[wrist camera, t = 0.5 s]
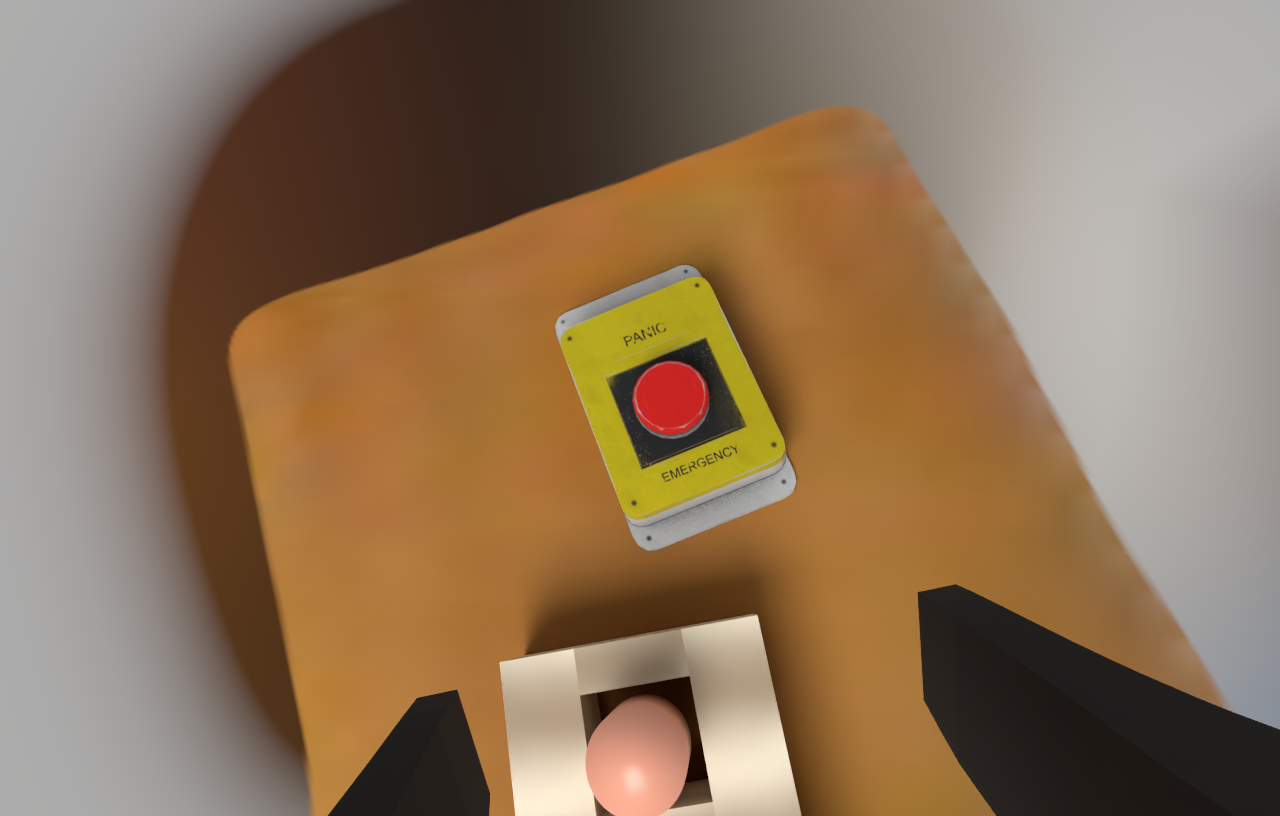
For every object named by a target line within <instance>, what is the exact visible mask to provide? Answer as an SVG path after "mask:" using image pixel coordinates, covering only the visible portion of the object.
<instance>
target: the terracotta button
mask: <svg viewBox="0 0 1280 816" xmlns="http://www.w3.org/2000/svg"><path fill="white" fill-rule="evenodd" d="M690 755H691V735H690V730H689V727H688V724H687V722H686V720H685V718H684V716H683V715H682V713H681V712H680V711H679V710H678V709H677V707H676V706H674V705H673V704H672V703H671V702H669V701H668V700H666V699H664V698H662V697H659V696H656V695H651V694H641V695H636V696H633V697H630V698H628V699H626V700H624V701H623V702H622V703H620V704H619V705H618V706H617V707H616V708H615V709H614V710H613V711H612V712H611V713H610V714H609V715H608V716H607V717H606V718H605V719H604V720H603V721H602V722H601V723H600V724H599V725H598V727H597V728H596V729H595V731H594V733H593V734H592V736H591V739H590V741H589V744H588V747H587V752H586V762H585V766H586V774H587V779H588V783H589V786H590V788H591V790H592V792H593V794H594V796H595V797H596V799H597V800H598V802H599V803H600V804H601V805H602V806H603V807H604V808H605V809H606V810H607V811H609V812H610V813H611V814H613V815H615V816H660V815H661V814H663V813H664V812H666V811H667V810H668V809H669V808H670V807H671V806H672V805H673V804H674V803H675V801H676V800H677V799H678V797H679V795H680V793H681V791H682V789H683V786H684V783H685V779H686V775H687V770H688V765H689V760H690Z"/></svg>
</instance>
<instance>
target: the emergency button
mask: <svg viewBox="0 0 1280 816" xmlns="http://www.w3.org/2000/svg"><path fill="white" fill-rule="evenodd" d="M555 328H556V335H557V338H558V340H559V343H560V346H561V349H562V352H563V354H564V357H565V360H566V362H567V365H568V368H569V370H570V373H571V375H572V378H573V381H574V383H575V386H576V389H577V391H578V394H579V397H580V399H581V402H582V405H583V407H584V410H585V412H586V415H587V418H588V420H589V423H590V426H591V428H592V431H593V434H594V436H595V439H596V441H597V444H598V447H599V449H600V452H601V455H602V457H603V460H604V463H605V465H606V468H607V471H608V473H609V476H610V478H611V481H612V484H613V486H614V489H615V492H616V494H617V497H618V500H619V502H620V505H621V508H622V510H623V512H624V514H625V517H626V520H627V522H628V525H629V528H630V530H631V533H632V536H633V538H634V539H635V541H636V542H637V544H638V545H639V546H640V547H642V548H643V549H645V550H647V551H654V550H659V549H662V548H664V547H667V546H669V545H672V544H674V543H676V542H679V541H681V540H684V539H686V538H689V537H691V536H694V535H696V534H698V533H701V532H703V531H706V530H708V529H711V528H713V527H716V526H718V525H720V524H723V523H725V522H728V521H730V520H733V519H735V518H738V517H740V516H743V515H745V514H747V513H750V512H752V511H755V510H757V509H760V508H762V507H765V506H767V505H769V504H772V503H774V502H777V501H779V500H782V499H784V498H786V497H788V496H789V495H790V494H791V493H792V492H793V491H794V488H795V484H796V477H795V473H794V470H793V468H792V466H791V463H790V461H789V459H788V457H787V455H786V448H785V442H784V439H783V437H782V434H781V432H780V430H779V428H778V426H777V424H776V422H775V420H774V418H773V416H772V414H771V411H770V409H769V407H768V405H767V403H766V401H765V399H764V397H763V395H762V393H761V390H760V388H759V386H758V384H757V382H756V380H755V378H754V376H753V374H752V372H751V369H750V367H749V365H748V363H747V361H746V359H745V357H744V355H743V353H742V351H741V348H740V346H739V344H738V342H737V340H736V338H735V336H734V334H733V332H732V330H731V328H730V325H729V323H728V321H727V319H726V317H725V315H724V313H723V311H722V309H721V307H720V304H719V302H718V300H717V298H716V296H715V294H714V292H713V290H712V288H711V286H710V284H709V283H708V282H707V280H706V279H704V278H702V276H701V274H700V273H699V272H698V270H697V269H696V268H694V267H692V266H690V265H680V266H677V267H675V268H672V269H670V270H667V271H665V272H662V273H660V274H658V275H655V276H653V277H650V278H648V279H645V280H643V281H641V282H638V283H636V284H633V285H631V286H628V287H626V288H624V289H621V290H619V291H616V292H614V293H611V294H609V295H607V296H604V297H602V298H599V299H597V300H594V301H592V302H590V303H587V304H585V305H582V306H580V307H577V308H575V309H573V310H570V311H568V312H565V313H564V314H563V315H561V316H560V317H559V318H558V320H557V323H556V325H555Z"/></svg>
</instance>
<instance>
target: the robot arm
mask: <svg viewBox="0 0 1280 816" xmlns="http://www.w3.org/2000/svg"><path fill="white" fill-rule="evenodd" d="M918 606H919V623H920V641H921V658H922V675H923V693H924V701H925V703H926V705H927V706H928V708H929V710H930V712H931V714H932V716H933V717H934V719H935V721H936V723H937V725H938V727H939V729H940V730H941V732H942V734H943V736H944V738H945V739H946V741H947V743H948V744H949V746H950V748H951V750H952V751H953V753H954V755H955V757H956V758H957V760H958V762H959V764H960V765H961V766H962V768H963V769H964V771H965V772H966V774H967V775H968V776H969V778H970V779H971V781H972V782H973V784H974V785H975V786H976V788H977V789H978V791H979V792H980V793H981V795H982V796H983V798H984V799H985V800H986V802H987V803H988V805H989V806H990V807H991V809H992V810H993V812H994V813H995V814H996V816H1280V730H1279V729H1276V728H1274V727H1271V726H1268V725H1266V724H1263V723H1260V722H1258V721H1255V720H1252V719H1250V718H1247V717H1244V716H1242V715H1239V714H1236V713H1233V712H1231V711H1228V710H1226V709H1223V708H1221V707H1218V706H1216V705H1213V704H1211V703H1208V702H1206V701H1204V700H1201V699H1199V698H1196V697H1194V696H1192V695H1189V694H1187V693H1185V692H1182V691H1180V690H1178V689H1175V688H1173V687H1171V686H1168V685H1166V684H1164V683H1162V682H1159V681H1157V680H1155V679H1152V678H1150V677H1148V676H1145V675H1143V674H1141V673H1138V672H1136V671H1134V670H1132V669H1130V668H1128V667H1125V666H1123V665H1121V664H1119V663H1117V662H1114V661H1112V660H1110V659H1108V658H1106V657H1104V656H1102V655H1100V654H1097V653H1095V652H1093V651H1091V650H1089V649H1087V648H1085V647H1083V646H1081V645H1079V644H1077V643H1075V642H1072V641H1070V640H1068V639H1066V638H1064V637H1062V636H1060V635H1058V634H1056V633H1054V632H1052V631H1050V630H1048V629H1046V628H1044V627H1042V626H1040V625H1038V624H1036V623H1034V622H1032V621H1030V620H1028V619H1026V618H1024V617H1022V616H1020V615H1018V614H1016V613H1014V612H1012V611H1010V610H1008V609H1006V608H1004V607H1002V606H1000V605H998V604H996V603H994V602H992V601H990V600H988V599H986V598H984V597H982V596H980V595H978V594H976V593H974V592H972V591H969V590H967V589H965V588H963V587H961V586H958V585H956V584H955V585H951V586H946V587H941V588H936V589H932V590H927V591H922V592H918ZM489 805H490V792H489V789H488V786H487V783H486V780H485V776H484V773H483V770H482V767H481V764H480V761H479V757H478V754H477V751H476V748H475V745H474V742H473V738H472V735H471V732H470V729H469V726H468V723H467V720H466V716H465V713H464V710H463V707H462V704H461V701H460V697H459V694H458V691H457V690H453V691H448V692H444V693H439V694H434V695H429V696H425V697H420V698H417V699H416V700H415V701H414V703H413V704H412V705H411V707H410V708H409V709H408V710H407V712H406V713H405V714H404V716H403V717H402V718H401V720H400V721H399V722H398V724H397V725H396V726H395V728H394V729H393V730H392V732H391V733H390V734H389V736H388V737H387V738H386V740H385V741H384V743H383V744H382V745H381V747H380V748H379V749H378V751H377V752H376V753H375V755H374V756H373V757H372V759H371V760H370V761H369V763H368V764H367V765H366V767H365V768H364V769H363V771H362V772H361V773H360V774H359V776H358V777H357V778H356V780H355V781H354V782H353V784H352V785H351V786H350V788H349V789H348V790H347V791H346V793H345V794H344V795H343V797H342V798H341V799H340V801H339V802H338V803H337V804H336V806H335V807H334V808H333V810H332V811H331V812H330V814H329V815H328V816H489Z"/></svg>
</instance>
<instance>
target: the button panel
mask: <svg viewBox="0 0 1280 816" xmlns="http://www.w3.org/2000/svg"><path fill="white" fill-rule="evenodd" d="M500 671H501V681H502V690H503V700H504V709H505V719H506V729H507V738H508V748H509V758H510V767H511V777H512V787H513V796H514V806H515V815H516V816H615V815H613V814H611V813H610V812H609V811H607V810H606V809H605V808H604V807H603V806H602V805H601V804H600V803H599V802H598V800H597V799H596V797H595V796H594V794H593V792H592V790H591V788H590V786H589V783H588V779H587V774H586V766H585V762H586V752H587V747H588V744H589V741H590V739H591V736H592V734H593V733H594V731H595V729H596V728H597V727H598V725H599V724H600V723H601V716H600V709H599V702H598V695H597V692H602V691H608V690H613V689H619V688H625V687H630V686H636V685H642V684H647V683H653V682H658V681H664V680H670V679H675V678H681V677H686V676H690V681H691V686H692V692H693V697H694V703H695V708H696V713H697V719H698V724H699V730H700V735H701V740H702V746H703V751H704V757H705V762H706V768H707V773H708V778H709V779H704V780H698V781H692V782H686V783H684V786H683V789H682V791H681V793H680V795H679V797H678V799H677V800H676V801H675V803H674V804H673V805H672V806H671V807H670V808H669V809H668V810H667V811H666V812H664V813H663V814H661V815H660V816H801V811H800V807H799V802H798V798H797V793H796V788H795V784H794V779H793V775H792V770H791V766H790V761H789V757H788V752H787V747H786V743H785V738H784V734H783V729H782V725H781V720H780V716H779V711H778V706H777V702H776V697H775V693H774V688H773V684H772V679H771V675H770V670H769V665H768V661H767V656H766V652H765V647H764V643H763V638H762V634H761V629H760V624H759V620H758V615H756V614H748V615H743V616H737V617H732V618H726V619H721V620H716V621H710V622H705V623H699V624H694V625H688V626H683V627H677V628H672V629H666V630H661V631H655V632H650V633H645V634H639V635H634V636H628V637H623V638H617V639H612V640H606V641H601V642H595V643H590V644H584V645H579V646H574V647H568V648H563V649H557V650H552V651H546V652H541V653H535V654H530V655H524V656H521V657H517V658H513V659H510V660H506V661H502V662H500Z"/></svg>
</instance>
